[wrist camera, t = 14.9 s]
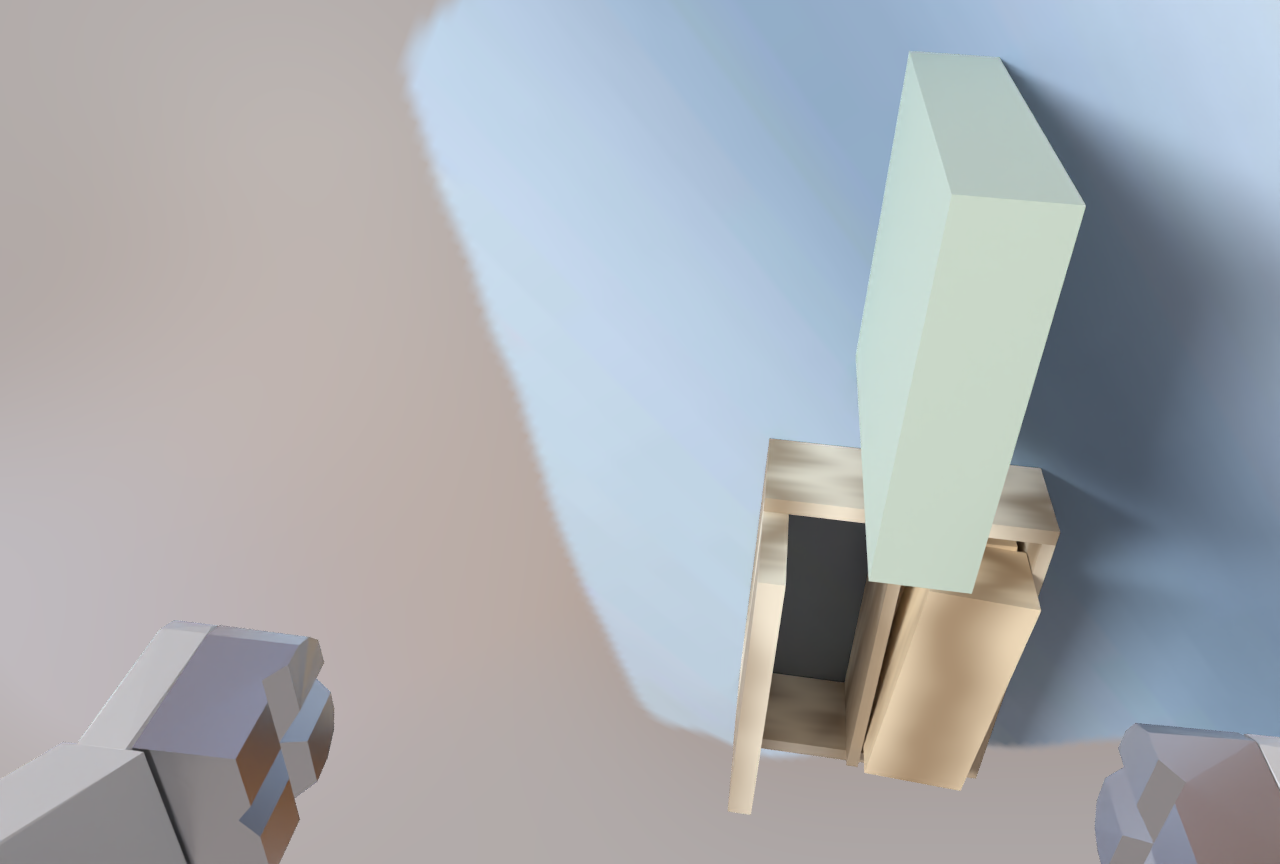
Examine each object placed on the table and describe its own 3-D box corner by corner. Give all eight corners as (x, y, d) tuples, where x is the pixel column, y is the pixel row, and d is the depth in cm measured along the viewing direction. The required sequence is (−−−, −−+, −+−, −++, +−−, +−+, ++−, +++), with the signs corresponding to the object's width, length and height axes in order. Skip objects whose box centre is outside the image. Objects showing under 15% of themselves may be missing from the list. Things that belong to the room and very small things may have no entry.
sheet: (999, 57, 40) (1086, 205, 27) (930, 363, 48) (971, 593, 35) (909, 50, 40) (951, 194, 27) (855, 355, 48) (868, 580, 35)
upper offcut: (1026, 553, 49) (1041, 610, 45) (952, 730, 56) (960, 790, 53) (922, 535, 49) (929, 591, 46) (861, 713, 56) (864, 772, 53)
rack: (1040, 468, 50) (1083, 608, 42) (965, 708, 60) (987, 859, 52) (769, 438, 52) (759, 568, 43) (739, 677, 61) (726, 820, 53)
